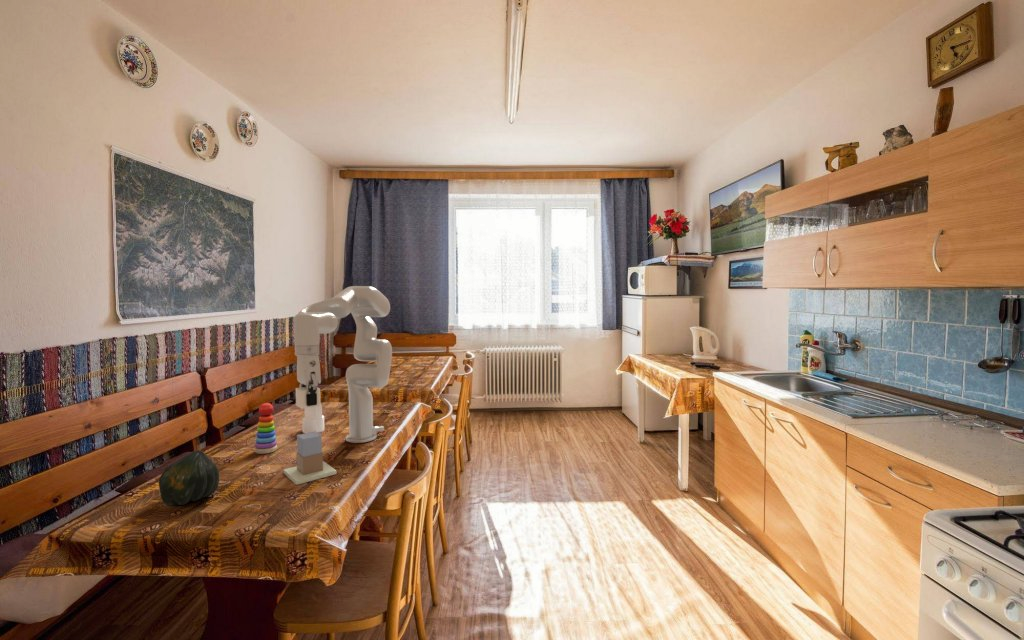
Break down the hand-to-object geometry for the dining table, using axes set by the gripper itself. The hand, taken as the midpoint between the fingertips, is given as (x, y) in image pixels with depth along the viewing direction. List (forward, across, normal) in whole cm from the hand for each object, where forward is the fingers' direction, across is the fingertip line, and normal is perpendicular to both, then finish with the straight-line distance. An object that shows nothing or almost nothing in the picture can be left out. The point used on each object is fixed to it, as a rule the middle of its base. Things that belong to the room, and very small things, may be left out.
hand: (308, 403), depth 153 cm
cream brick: (+1, 0, 0) cm, 1 cm away
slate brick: (+17, 0, 0) cm, 17 cm away
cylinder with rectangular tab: (+24, +49, -18) cm, 58 cm away
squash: (+25, +4, +33) cm, 41 cm away
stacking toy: (+24, +34, +5) cm, 42 cm away
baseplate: (+24, 0, 0) cm, 24 cm away
